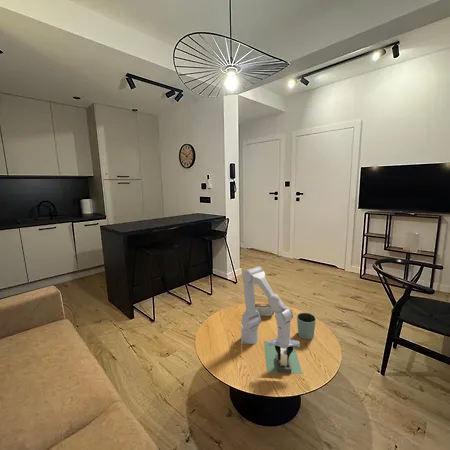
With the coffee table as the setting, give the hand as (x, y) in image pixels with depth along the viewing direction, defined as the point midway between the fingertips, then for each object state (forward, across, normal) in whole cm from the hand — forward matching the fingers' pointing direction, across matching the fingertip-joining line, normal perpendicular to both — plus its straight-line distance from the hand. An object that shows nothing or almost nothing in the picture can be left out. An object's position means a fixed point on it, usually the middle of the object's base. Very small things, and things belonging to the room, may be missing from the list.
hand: (283, 358), depth 118 cm
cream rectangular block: (+2, 0, 0) cm, 2 cm away
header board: (+4, 0, +6) cm, 8 cm away
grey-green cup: (+5, +16, +24) cm, 29 cm away
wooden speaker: (+5, -7, +44) cm, 45 cm away
